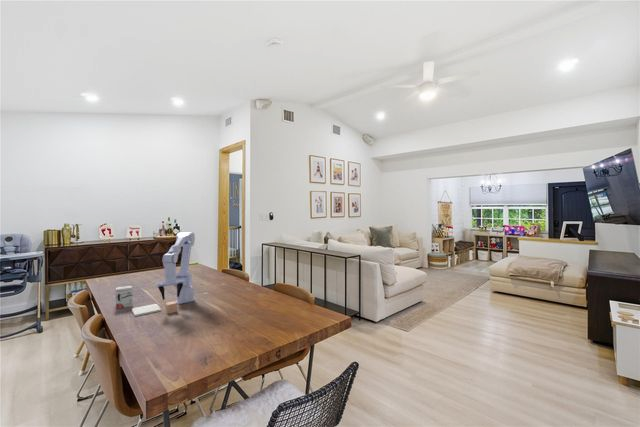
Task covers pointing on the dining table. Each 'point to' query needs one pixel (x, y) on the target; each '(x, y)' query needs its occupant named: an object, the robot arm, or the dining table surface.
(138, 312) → the mat
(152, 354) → the dining table surface
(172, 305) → the cube
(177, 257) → the robot arm
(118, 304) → the ink box
